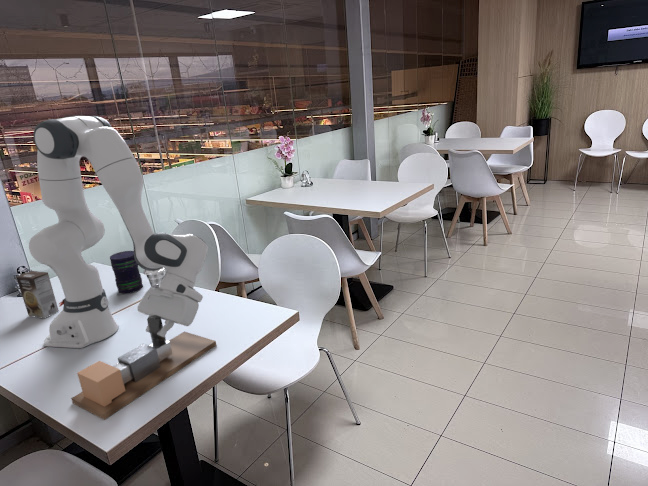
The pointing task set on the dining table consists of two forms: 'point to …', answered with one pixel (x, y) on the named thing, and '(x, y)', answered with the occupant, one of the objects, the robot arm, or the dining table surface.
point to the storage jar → (126, 272)
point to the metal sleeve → (141, 361)
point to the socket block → (101, 383)
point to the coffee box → (37, 293)
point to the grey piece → (157, 342)
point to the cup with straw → (155, 276)
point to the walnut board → (152, 374)
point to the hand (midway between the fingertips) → (154, 334)
